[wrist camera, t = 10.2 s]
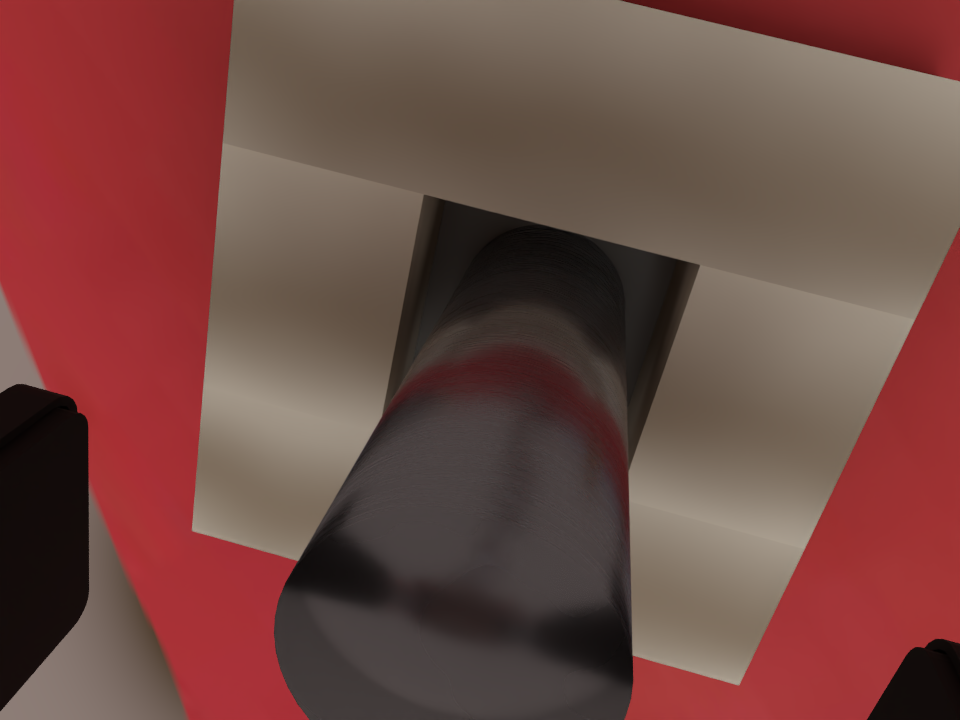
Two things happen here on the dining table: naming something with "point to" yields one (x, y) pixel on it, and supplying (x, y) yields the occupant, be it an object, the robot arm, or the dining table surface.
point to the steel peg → (483, 513)
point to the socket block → (602, 219)
